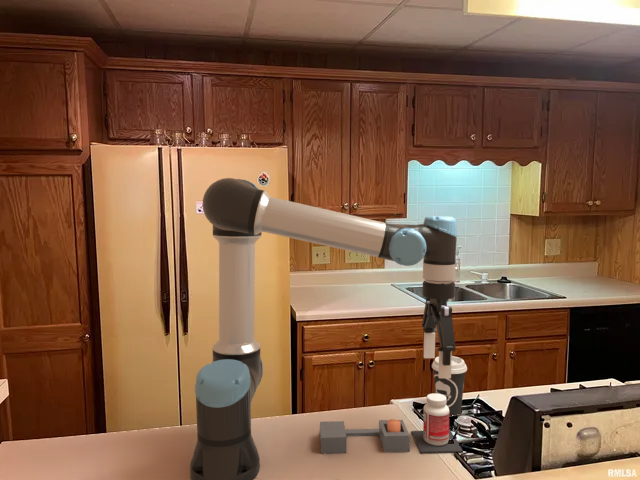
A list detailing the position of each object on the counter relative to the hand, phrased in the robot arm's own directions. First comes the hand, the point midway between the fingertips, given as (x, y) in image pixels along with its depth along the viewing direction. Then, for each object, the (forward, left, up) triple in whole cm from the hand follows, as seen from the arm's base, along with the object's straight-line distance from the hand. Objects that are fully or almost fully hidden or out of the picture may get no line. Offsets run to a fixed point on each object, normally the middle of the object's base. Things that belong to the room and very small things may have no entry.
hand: (436, 367), depth 116 cm
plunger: (-10, 0, -19) cm, 21 cm away
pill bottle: (0, 0, -19) cm, 19 cm away
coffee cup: (+8, +16, -19) cm, 26 cm away
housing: (-18, +1, -19) cm, 26 cm away
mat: (0, 0, -19) cm, 19 cm away
